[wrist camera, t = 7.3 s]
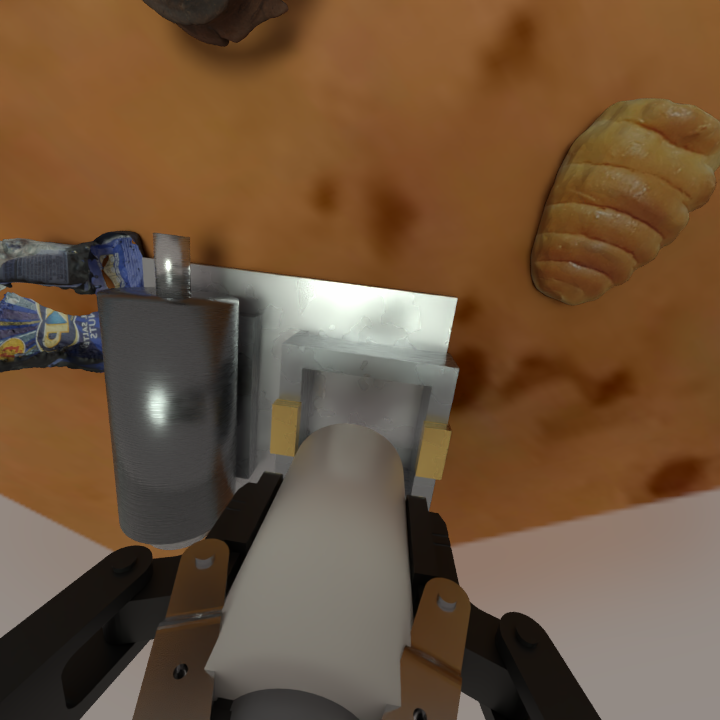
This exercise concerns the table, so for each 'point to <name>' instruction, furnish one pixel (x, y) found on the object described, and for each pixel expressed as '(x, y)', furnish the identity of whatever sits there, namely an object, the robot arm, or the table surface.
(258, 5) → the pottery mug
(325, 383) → the motor unit
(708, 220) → the table surface
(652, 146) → the pastry
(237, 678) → the white cylinder roll
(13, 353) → the snack package
